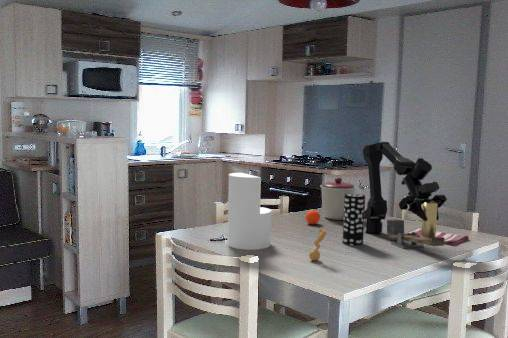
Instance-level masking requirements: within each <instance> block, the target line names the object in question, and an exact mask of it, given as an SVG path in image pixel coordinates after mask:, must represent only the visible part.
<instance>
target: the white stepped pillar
mask: <svg viewBox="0 0 508 338" xmlns="http://www.w3.org/2000/svg"><path fill="white" fill-rule="evenodd" d="M261 181H262V177H261V176H256V175H252V174H250V173H246V172H245V173H244V172H230V173H228V196H227V197H228V198H227V199H228V200H227V201H228V202H227V208H228V209H227V245H228V246H229V247H230V248H233V249H239V250H251V251H253V250H263V249H267V248H269V247H271V242H272V240H271V239H272V238H271V237H272V210H271V209H270V208H267V207H263V206H262V207H261V191H262V190H261V188H262V187H261V186H262V184H261Z"/></svg>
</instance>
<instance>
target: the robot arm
mask: <svg viewBox="0 0 508 338" xmlns="http://www.w3.org/2000/svg"><path fill="white" fill-rule="evenodd" d="M362 154H363V160H364V162H365V163H366V164H367V165H368V169H367V170H368V179H369V180H368V181H369V183H368V184H369V193H370V194H369V196H370V197H369V199H368V201H367V205H366V208H365V213H364V220H366V223H365V225H366V226H365V227H366V228H365V231H364V233H365V234H374V235H381V233H383V226H384V225H383V224H384V222H383V221H382V220H386V217H387V213H388V210H389V208H388V201H387V199H385V198H384V197H383V194H382V182H381V165H380V164H381V163H382V160H383V158H384V157H386V159H387V160H388V161H389V162H390V163H391V164H392V165H393V170H394V172H396V174H397V175H398V176H404V177H402V180H401V185H405V186H406V188H407V189H408V190H407V191H408V193H407V195H405V196H403V197H402V198H401V200H400V201H399V202H398V207H399V209H400V210H401V211H402V210H405V211H406V210H407V211H408V212H411V213H413V214H415V215H416V217H419V218H420V219H421V220H422V221H423V220H424V221H426V220H427V218H426V215H425V213H424V211H423V206H422V205H424V202H435V203H438V204H437V220H436V221H439V220H440V217H439V209H440V208H441V207H442V206H443V205H444V204H445V202H447V200H448V198H447V196H446V195H445V194H435V195H434V196H433V197H432V198H431V196H432V195H433V193H436V192H437V191H439V190H440V185H439V183H438V182H437V181H432V182H428V183H427V182H426V183H422V181H423V180H425V178H426V177H427V176H428V174H429V173H430V172H431V171H432V169H433V166H432V165H431V163H429V162H428V161H426V160H425V159H424V157H420V158H419V157H418V158H417V159H416V161H413V160H412V159H410V158H407V157H404V156H402V154H400V152H398V151H397V150H396V149H395V148H394V146H392V145H391V143H390V142H388V141H378V142H375V143H372V144H370V145H368V144H367V145H365V146H364V147H363V149H362ZM383 156H384V157H383Z"/></svg>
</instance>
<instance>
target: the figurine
mask: <svg viewBox="0 0 508 338" xmlns="http://www.w3.org/2000/svg"><path fill="white" fill-rule="evenodd" d="M318 233H319V234H318V237H317V238H316V240H315V241H314V242H313V245H315V247H316V248H314V249H312V250H311V251H309V254H308V257H309V259H310V260H311V261H313V262H316V261H318V260H320V258H321V252H320V251H319V249H320V247H321V245H320V243H322V241H323V240H324V238H325V237H326V235H327V231H326V230H324V229H322V228H318Z"/></svg>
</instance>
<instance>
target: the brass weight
mask: <svg viewBox="0 0 508 338" xmlns="http://www.w3.org/2000/svg"><path fill="white" fill-rule="evenodd" d="M437 204H438V203H435V202H424V204H422V205H423V206H422V209H423V211H424V213H425V215H426V218H427V220H426V221H424V220H423V219H422V226H421V229H422V237H426V238H435V236H436V231H437V221H438V220H437Z"/></svg>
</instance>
